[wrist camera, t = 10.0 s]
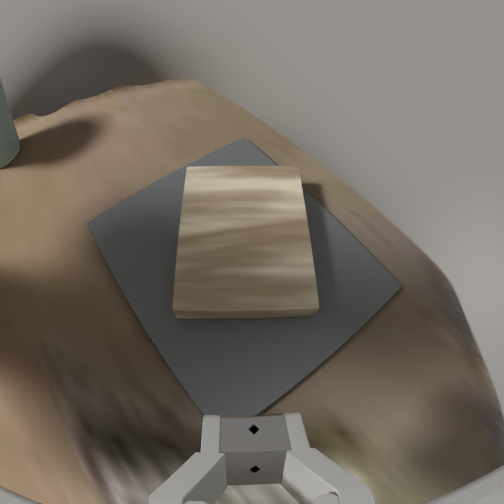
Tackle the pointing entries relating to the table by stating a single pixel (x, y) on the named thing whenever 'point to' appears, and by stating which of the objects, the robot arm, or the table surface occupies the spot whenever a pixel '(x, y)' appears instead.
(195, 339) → the charcoal mat
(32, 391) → the table surface
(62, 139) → the table surface
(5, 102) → the disposable coffee cup
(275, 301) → the ash tile
